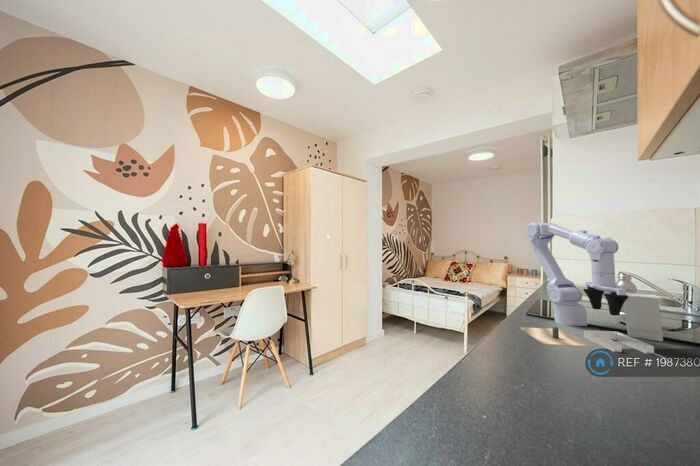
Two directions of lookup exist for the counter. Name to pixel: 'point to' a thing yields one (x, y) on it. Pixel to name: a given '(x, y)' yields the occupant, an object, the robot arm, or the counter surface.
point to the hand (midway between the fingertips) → (605, 312)
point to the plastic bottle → (630, 288)
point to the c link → (607, 336)
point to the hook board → (549, 334)
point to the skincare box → (643, 316)
